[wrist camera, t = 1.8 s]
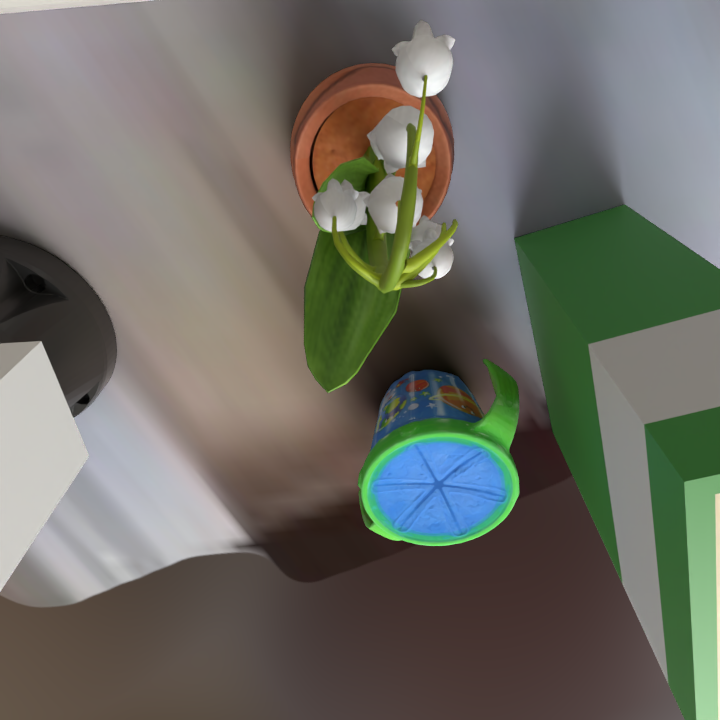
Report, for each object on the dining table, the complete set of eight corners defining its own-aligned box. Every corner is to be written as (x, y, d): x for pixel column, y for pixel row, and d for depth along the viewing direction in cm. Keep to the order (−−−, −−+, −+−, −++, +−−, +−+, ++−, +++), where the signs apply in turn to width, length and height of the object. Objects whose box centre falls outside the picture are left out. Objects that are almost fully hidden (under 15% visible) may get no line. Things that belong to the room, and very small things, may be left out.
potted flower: (302, 11, 32) (165, -25, 10) (474, 38, 32) (686, 57, 11) (288, 217, 38) (183, 464, 16) (433, 236, 38) (517, 501, 17)
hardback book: (643, 409, 46) (871, 724, 25) (552, 431, 47) (697, 748, 26) (624, 204, 37) (946, 424, 16) (514, 238, 38) (684, 482, 18)
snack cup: (405, 489, 50) (413, 585, 42) (315, 426, 47) (303, 517, 38) (542, 381, 44) (585, 468, 36) (451, 300, 41) (474, 374, 32)
